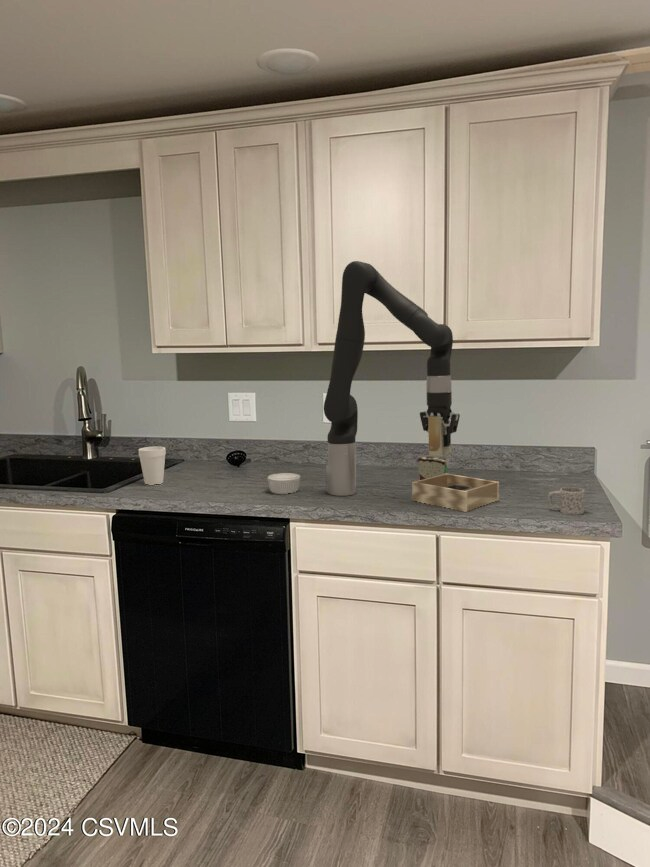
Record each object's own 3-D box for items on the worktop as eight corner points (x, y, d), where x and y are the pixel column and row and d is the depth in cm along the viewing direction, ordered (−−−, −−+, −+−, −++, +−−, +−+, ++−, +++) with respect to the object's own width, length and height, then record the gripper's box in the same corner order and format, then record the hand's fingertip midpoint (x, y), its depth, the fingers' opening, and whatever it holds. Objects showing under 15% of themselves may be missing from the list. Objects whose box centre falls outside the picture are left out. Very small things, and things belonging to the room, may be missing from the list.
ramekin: (283, 497, 221) (282, 481, 221) (261, 492, 229) (260, 476, 228) (307, 490, 229) (307, 475, 229) (285, 486, 237) (284, 471, 236)
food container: (456, 485, 232) (456, 457, 230) (446, 489, 227) (446, 460, 226) (425, 481, 240) (425, 453, 238) (416, 484, 235) (416, 456, 234)
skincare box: (439, 452, 211) (438, 413, 209) (451, 453, 208) (450, 414, 207) (428, 455, 206) (427, 416, 205) (440, 456, 203) (439, 416, 202)
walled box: (412, 500, 212) (411, 482, 211) (446, 491, 224) (446, 473, 223) (465, 512, 198) (465, 492, 197) (498, 500, 210) (499, 482, 209)
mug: (583, 509, 198) (584, 487, 197) (584, 515, 192) (585, 492, 191) (547, 507, 201) (548, 485, 200) (547, 513, 195) (548, 490, 194)
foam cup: (172, 482, 246) (170, 447, 244) (152, 487, 239) (150, 451, 237) (155, 479, 252) (153, 445, 250) (135, 484, 244) (133, 449, 242)
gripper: (412, 390, 207) (413, 445, 210) (450, 392, 197) (451, 449, 199) (428, 388, 212) (429, 442, 215) (465, 390, 202) (466, 446, 204)
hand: (439, 445), depth 207 cm, fingers closed on skincare box, 4 cm apart
